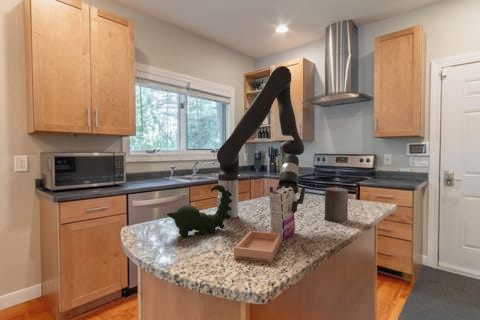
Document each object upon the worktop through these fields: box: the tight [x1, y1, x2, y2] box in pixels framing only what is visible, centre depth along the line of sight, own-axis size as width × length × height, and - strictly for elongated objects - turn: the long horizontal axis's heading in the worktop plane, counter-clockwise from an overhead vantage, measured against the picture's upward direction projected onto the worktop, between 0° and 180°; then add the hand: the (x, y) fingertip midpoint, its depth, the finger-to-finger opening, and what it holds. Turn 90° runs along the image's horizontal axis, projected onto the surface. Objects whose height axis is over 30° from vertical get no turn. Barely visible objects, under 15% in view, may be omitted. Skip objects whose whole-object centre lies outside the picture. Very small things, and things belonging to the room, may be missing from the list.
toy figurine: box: [166, 184, 232, 238], centre depth 99 cm, size 9×19×25 cm
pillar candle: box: [324, 187, 349, 223], centre depth 117 cm, size 10×10×15 cm
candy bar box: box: [269, 188, 296, 241], centre depth 95 cm, size 11×5×16 cm, turn 148°
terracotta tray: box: [233, 230, 283, 263], centre depth 82 cm, size 11×17×3 cm, turn 162°
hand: (284, 211), depth 97 cm, fingers closed on candy bar box, 6 cm apart
